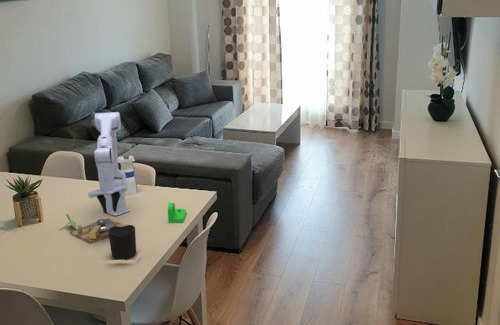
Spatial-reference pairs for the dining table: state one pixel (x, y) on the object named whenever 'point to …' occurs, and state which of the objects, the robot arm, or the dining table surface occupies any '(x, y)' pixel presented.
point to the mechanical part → (175, 214)
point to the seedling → (71, 222)
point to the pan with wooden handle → (99, 227)
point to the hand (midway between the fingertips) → (110, 211)
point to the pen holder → (122, 242)
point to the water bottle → (128, 173)
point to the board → (84, 231)
